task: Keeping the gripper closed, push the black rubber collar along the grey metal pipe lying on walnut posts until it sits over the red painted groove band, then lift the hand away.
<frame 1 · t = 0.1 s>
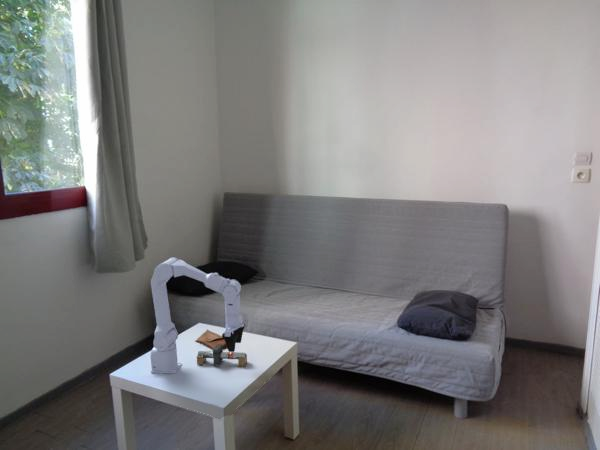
hand: (234, 346, 172), 10 cm above the table, fingers open, 7 cm apart
ring: (218, 354, 180), point 4 cm above the table, slide at 0.0 cm
pipe: (222, 363, 180), on the table
sunglasses case: (212, 344, 199), on the table
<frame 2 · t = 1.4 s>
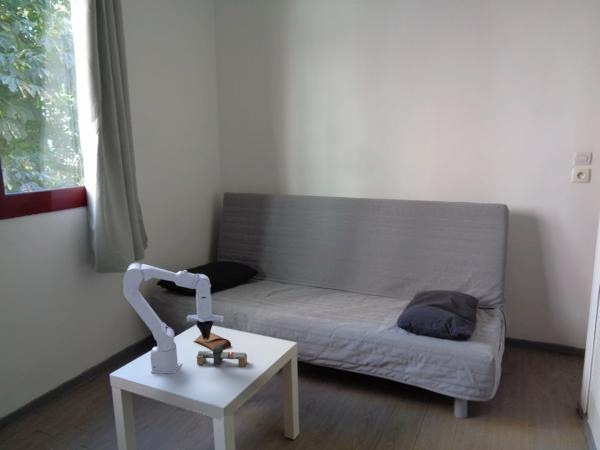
hand: (206, 338, 180), 10 cm above the table, fingers closed
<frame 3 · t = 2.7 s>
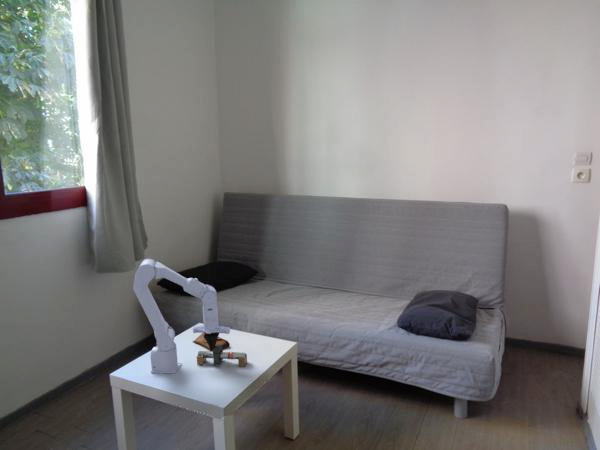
hand: (212, 349, 180), 6 cm above the table, fingers closed
ring: (218, 354, 180), point 4 cm above the table, slide at 0.0 cm, touching gripper
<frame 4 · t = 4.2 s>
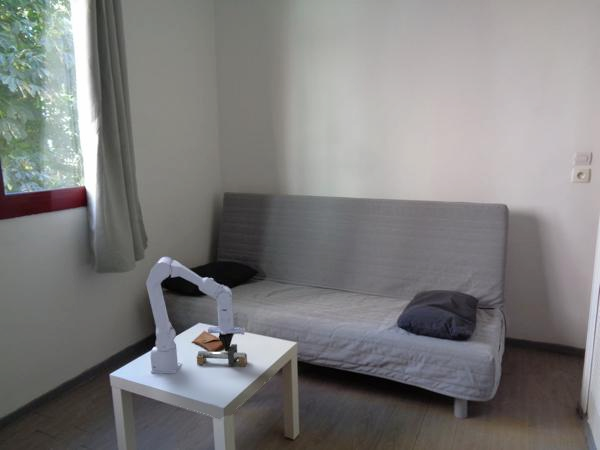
hand: (227, 350, 179), 6 cm above the table, fingers closed
ring: (232, 355, 179), point 4 cm above the table, slide at 6.0 cm, touching gripper
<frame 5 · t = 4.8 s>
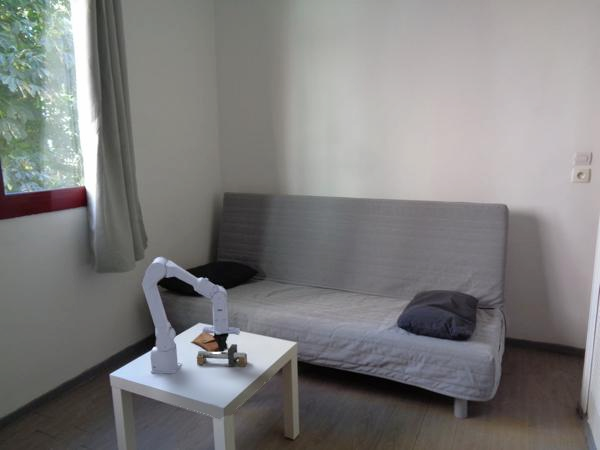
hand: (222, 350, 179), 6 cm above the table, fingers closed
ring: (232, 355, 179), point 4 cm above the table, slide at 6.0 cm
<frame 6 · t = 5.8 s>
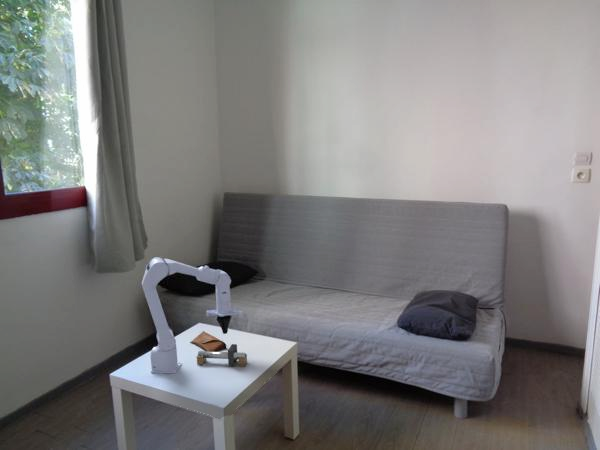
hand: (225, 332, 185), 10 cm above the table, fingers closed
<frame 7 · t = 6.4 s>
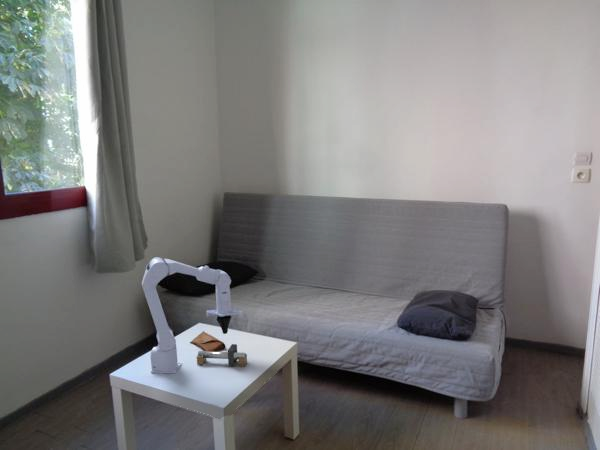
hand: (225, 332, 185), 10 cm above the table, fingers closed
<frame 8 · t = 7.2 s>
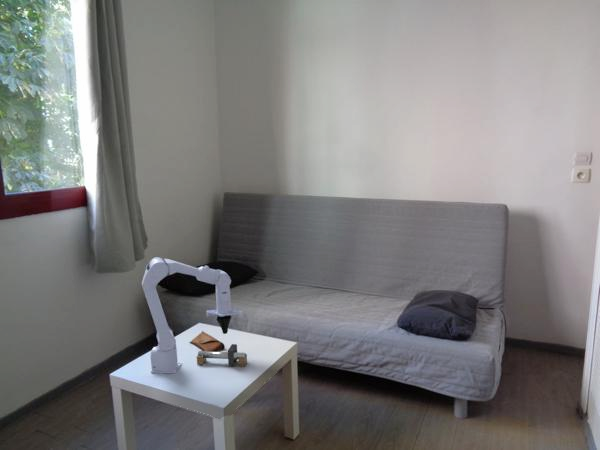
hand: (225, 332, 185), 10 cm above the table, fingers closed
at the end: ring slide at 6.0 cm; ring touching nothing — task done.
